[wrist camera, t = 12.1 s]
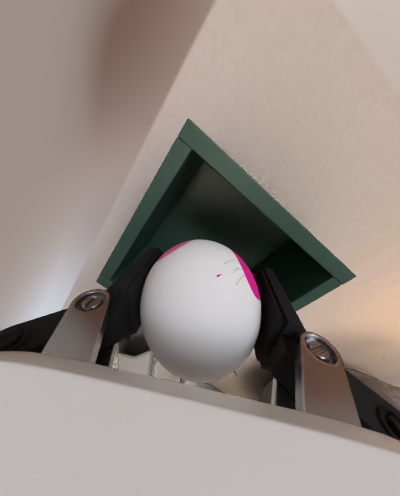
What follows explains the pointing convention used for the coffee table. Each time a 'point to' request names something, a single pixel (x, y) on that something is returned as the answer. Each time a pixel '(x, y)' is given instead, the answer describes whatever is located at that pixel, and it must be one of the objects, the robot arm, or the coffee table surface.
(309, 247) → the bin
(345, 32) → the coffee table surface
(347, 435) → the robot arm
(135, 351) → the tube
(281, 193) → the coffee table surface
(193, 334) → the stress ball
